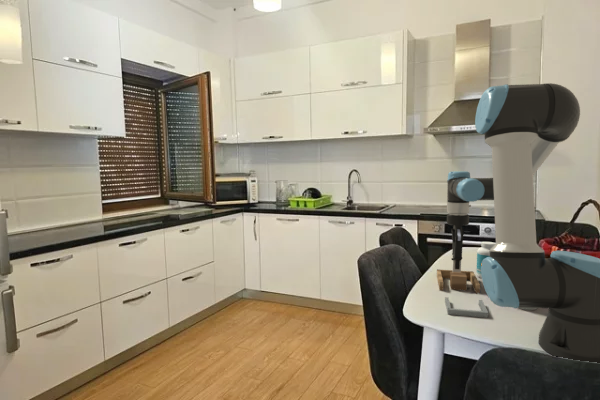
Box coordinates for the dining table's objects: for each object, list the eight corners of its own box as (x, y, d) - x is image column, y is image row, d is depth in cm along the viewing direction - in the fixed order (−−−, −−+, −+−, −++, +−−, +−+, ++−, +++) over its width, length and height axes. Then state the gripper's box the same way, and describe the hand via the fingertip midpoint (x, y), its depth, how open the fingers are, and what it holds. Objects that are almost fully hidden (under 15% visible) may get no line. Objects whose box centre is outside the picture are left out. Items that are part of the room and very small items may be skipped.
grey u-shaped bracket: (488, 317, 113) (488, 312, 112) (447, 314, 116) (447, 309, 116) (482, 304, 123) (482, 300, 122) (444, 301, 126) (445, 297, 126)
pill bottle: (496, 281, 145) (497, 245, 144) (475, 278, 149) (476, 243, 148) (498, 275, 152) (499, 241, 150) (477, 273, 156) (478, 240, 154)
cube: (466, 290, 136) (466, 276, 135) (451, 289, 137) (451, 275, 137) (464, 286, 141) (465, 272, 140) (449, 285, 142) (450, 271, 142)
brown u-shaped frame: (479, 293, 133) (480, 284, 133) (439, 290, 136) (439, 282, 136) (472, 279, 148) (473, 271, 148) (436, 276, 152) (436, 269, 151)
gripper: (471, 216, 134) (469, 282, 137) (466, 211, 147) (465, 272, 149) (448, 216, 137) (447, 281, 139) (445, 211, 149) (444, 271, 151)
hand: (456, 276), depth 144 cm, fingers closed
